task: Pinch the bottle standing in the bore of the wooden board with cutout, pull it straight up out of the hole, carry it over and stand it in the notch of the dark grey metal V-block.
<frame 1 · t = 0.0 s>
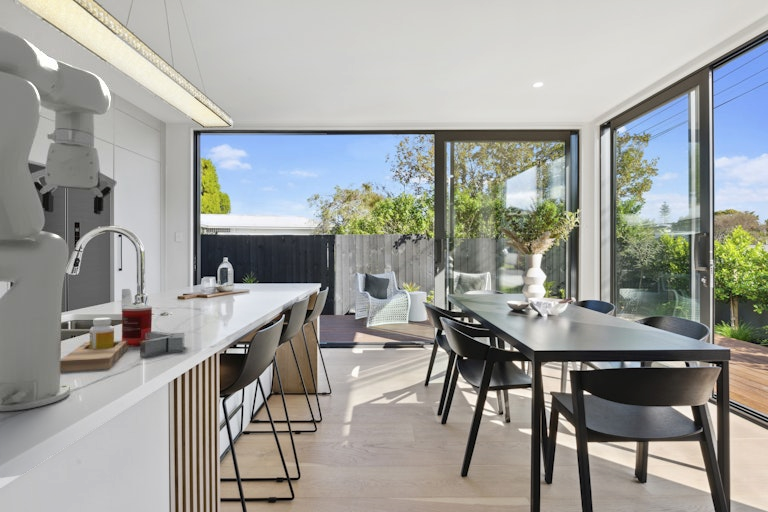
hand: (73, 212, 100), 37 cm above the table, tool pointing down, fingers open, 9 cm apart
supplement bottle: (101, 355, 112), on the table
wooden board with cutout: (96, 359, 107), on the table
v block: (169, 349, 119), on the table
canned food: (136, 344, 126), on the table
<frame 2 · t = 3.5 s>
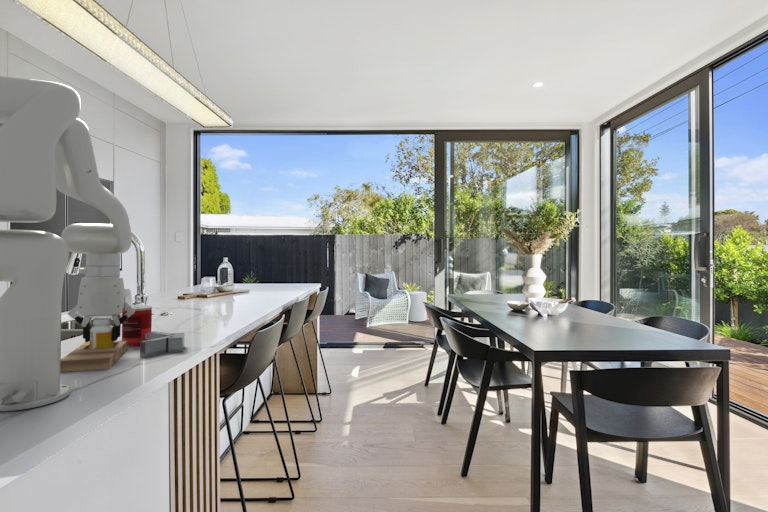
hand: (101, 339, 112), 4 cm above the table, tool pointing down, fingers closed on supplement bottle, 5 cm apart
supplement bottle: (101, 355, 112), on the table, touching gripper
everything else where it was.
when the fingers open (5 cm above the table, at t = 10.6 s): supplement bottle drops 1 cm, on the table.
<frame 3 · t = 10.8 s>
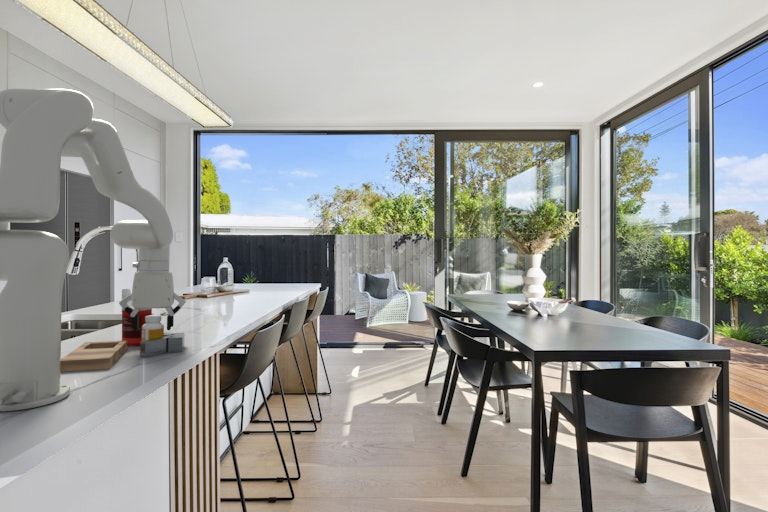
hand: (152, 329, 118), 6 cm above the table, tool pointing down, fingers open, 7 cm apart
supplement bottle: (152, 351, 118), on the table
everything else where it was.
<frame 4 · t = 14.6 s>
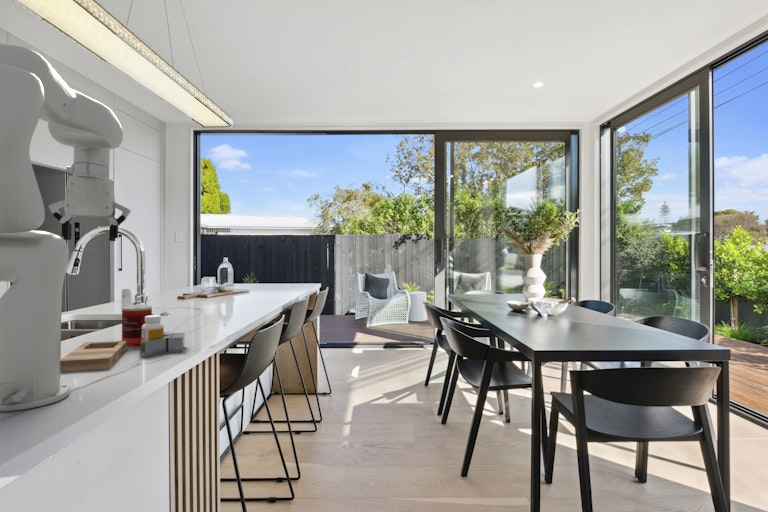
hand: (90, 240, 107), 30 cm above the table, tool pointing down, fingers open, 9 cm apart
nothing on the table moved.
at the end: supplement bottle 0.1 cm from the target spot on the v block, point 0.0 cm above the v block's base; supplement bottle tilted 0° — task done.
